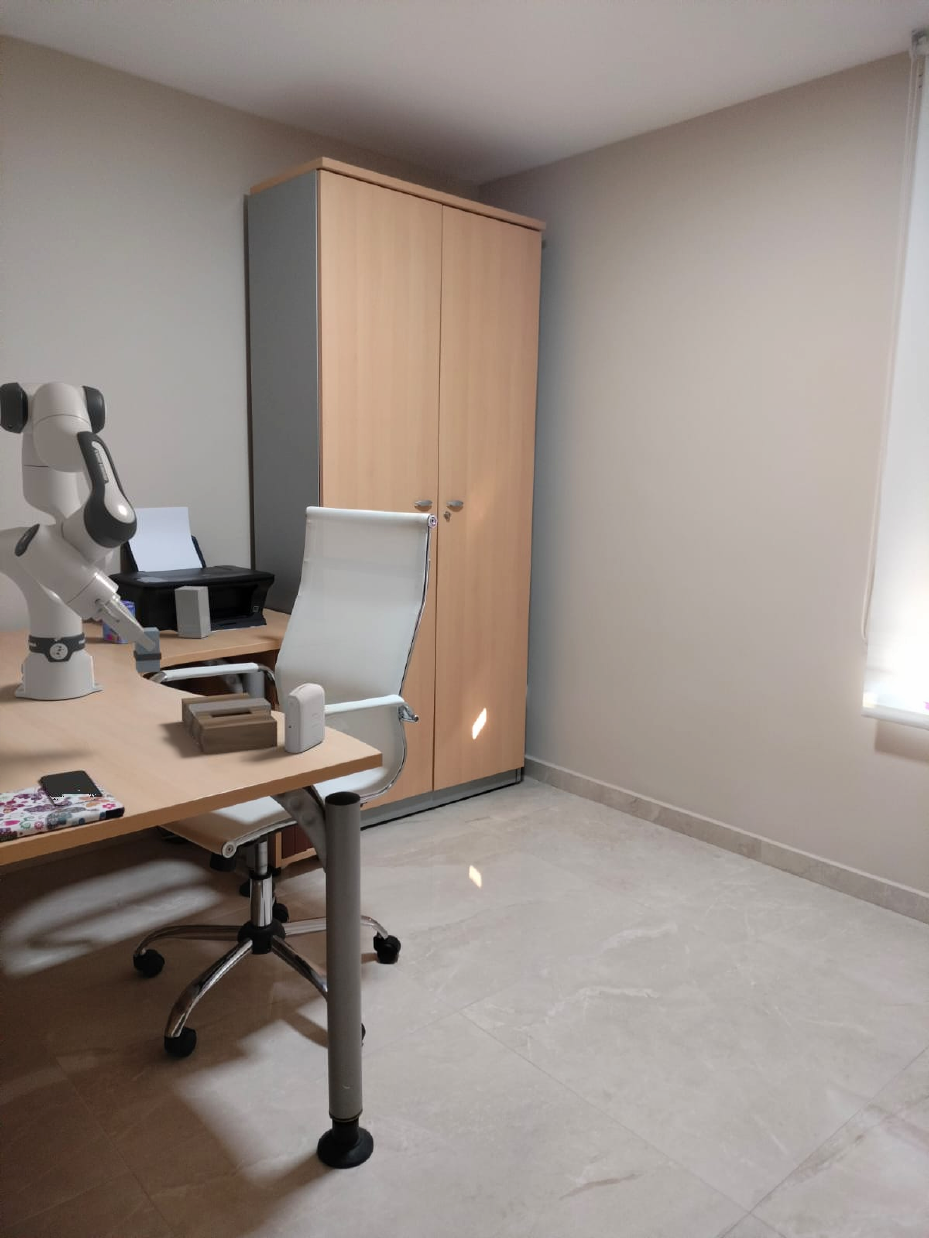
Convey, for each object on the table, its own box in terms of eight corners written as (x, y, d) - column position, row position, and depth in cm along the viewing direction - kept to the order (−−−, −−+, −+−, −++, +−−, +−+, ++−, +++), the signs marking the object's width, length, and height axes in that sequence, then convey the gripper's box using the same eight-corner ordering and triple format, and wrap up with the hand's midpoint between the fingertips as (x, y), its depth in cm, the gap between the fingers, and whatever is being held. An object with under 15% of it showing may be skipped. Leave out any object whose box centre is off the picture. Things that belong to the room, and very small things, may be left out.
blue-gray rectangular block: (133, 668, 176) (132, 628, 175) (158, 666, 178) (157, 627, 177) (136, 673, 172) (135, 632, 171) (162, 671, 174) (160, 631, 173)
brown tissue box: (182, 721, 192) (181, 698, 191) (247, 714, 198) (247, 692, 198) (204, 754, 171) (204, 728, 170) (277, 745, 177) (277, 721, 177)
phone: (55, 805, 143) (38, 776, 155) (55, 810, 143) (38, 781, 156) (104, 796, 147) (84, 769, 160) (104, 801, 147) (84, 773, 160)
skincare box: (211, 635, 287) (210, 586, 284) (199, 639, 280) (198, 589, 277) (187, 633, 289) (186, 584, 286) (175, 637, 282) (174, 587, 279)
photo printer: (300, 755, 172) (300, 692, 170) (281, 751, 174) (281, 689, 172) (327, 740, 182) (328, 680, 180) (309, 737, 183) (309, 678, 181)
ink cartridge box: (101, 640, 275) (99, 593, 273) (117, 637, 279) (116, 591, 277) (120, 644, 269) (119, 596, 267) (137, 641, 274) (135, 594, 271)
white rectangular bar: (189, 723, 184) (189, 704, 183) (263, 716, 191) (263, 697, 190) (195, 731, 179) (194, 711, 178) (271, 723, 185) (271, 704, 185)
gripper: (112, 592, 160) (170, 643, 166) (101, 578, 178) (155, 624, 184) (86, 618, 159) (146, 668, 165) (78, 601, 177) (132, 647, 183)
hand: (150, 645), depth 175 cm, fingers closed on blue-gray rectangular block, 4 cm apart
